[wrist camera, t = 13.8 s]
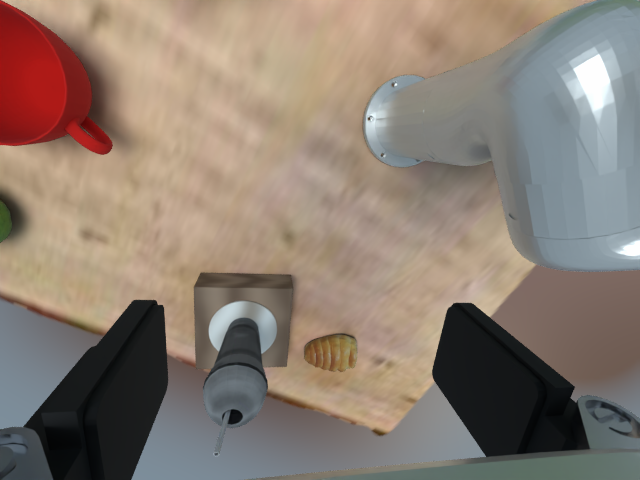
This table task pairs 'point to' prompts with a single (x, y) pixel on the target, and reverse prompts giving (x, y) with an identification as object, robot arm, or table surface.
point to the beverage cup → (236, 379)
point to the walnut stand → (242, 313)
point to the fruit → (4, 221)
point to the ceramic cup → (42, 86)
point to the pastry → (332, 352)
